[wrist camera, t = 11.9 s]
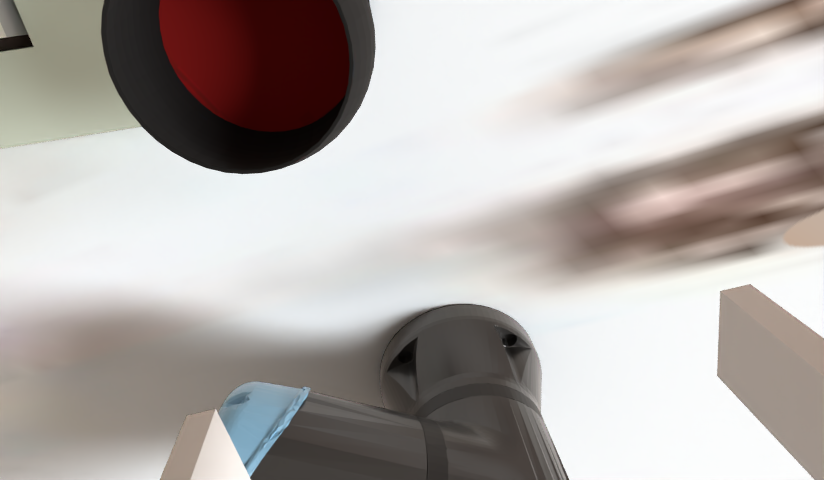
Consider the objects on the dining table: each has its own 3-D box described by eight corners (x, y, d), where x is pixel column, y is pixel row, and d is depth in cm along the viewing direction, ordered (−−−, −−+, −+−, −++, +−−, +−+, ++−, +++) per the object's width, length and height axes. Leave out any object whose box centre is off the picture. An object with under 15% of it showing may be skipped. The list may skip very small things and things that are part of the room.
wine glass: (183, -15, 35) (2, 13, 18) (308, -115, 33) (245, -197, 16) (284, 114, 40) (221, 240, 22) (399, 33, 38) (431, 99, 20)
